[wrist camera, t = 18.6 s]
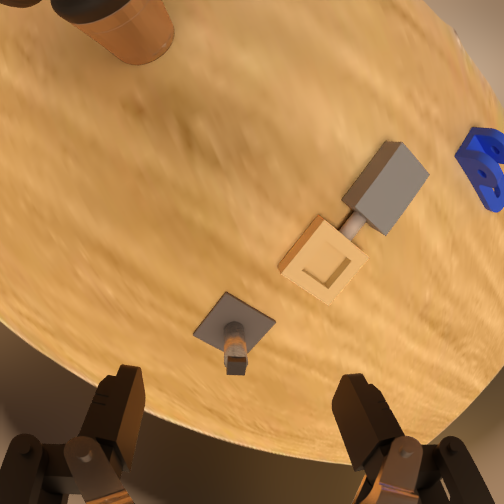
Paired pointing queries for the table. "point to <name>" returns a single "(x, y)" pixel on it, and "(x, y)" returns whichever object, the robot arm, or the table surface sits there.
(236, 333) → the square capped bottle
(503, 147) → the bracket
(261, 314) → the mat
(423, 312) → the table surface
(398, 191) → the tray with grey block
